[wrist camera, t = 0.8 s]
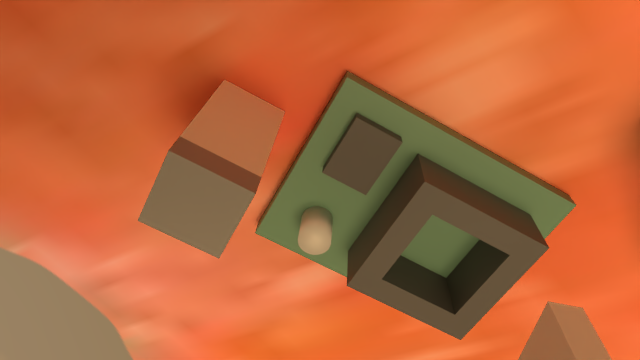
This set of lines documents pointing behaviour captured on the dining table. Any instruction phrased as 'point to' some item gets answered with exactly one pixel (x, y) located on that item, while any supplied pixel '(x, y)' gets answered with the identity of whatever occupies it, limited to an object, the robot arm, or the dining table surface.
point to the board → (411, 210)
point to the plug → (213, 170)
